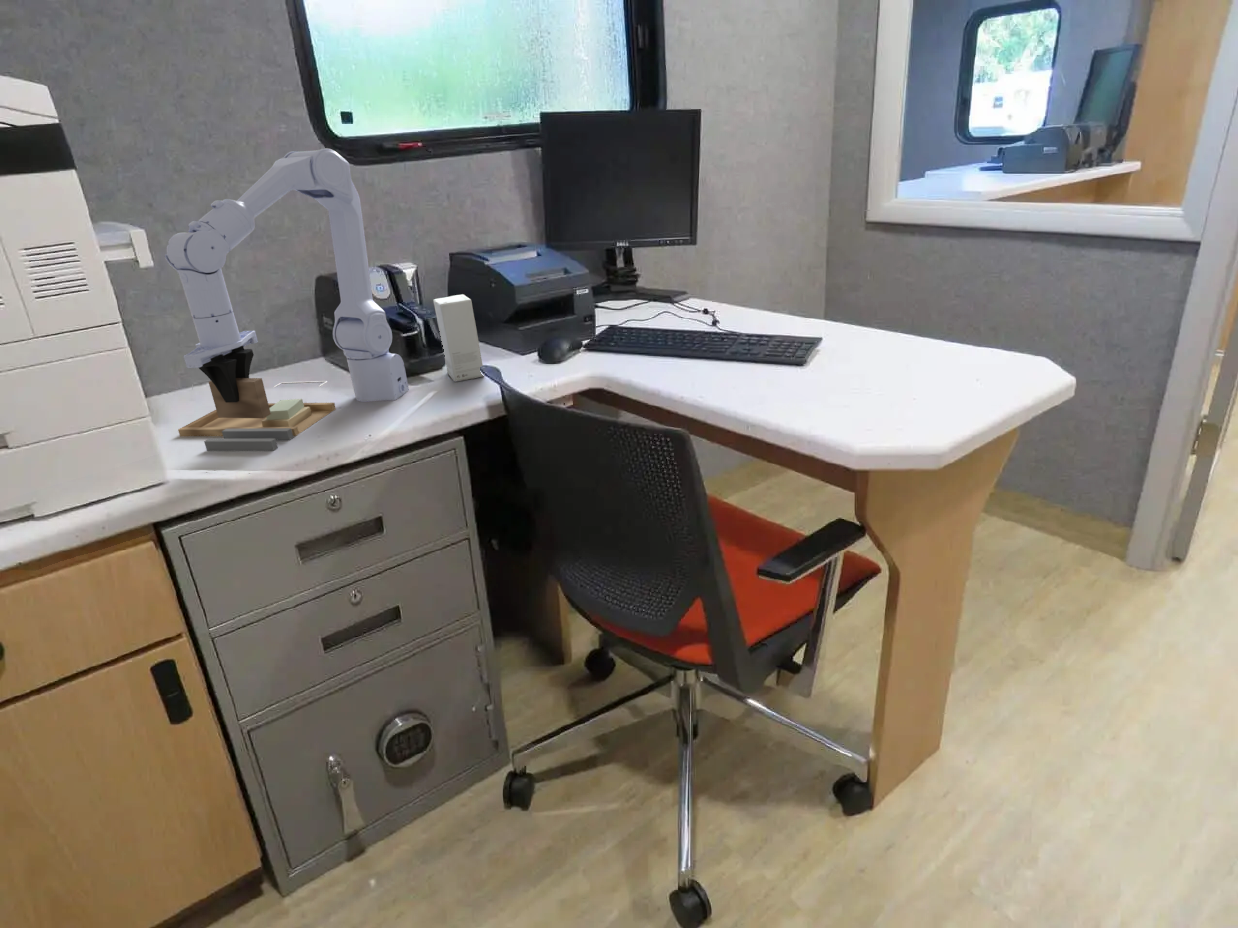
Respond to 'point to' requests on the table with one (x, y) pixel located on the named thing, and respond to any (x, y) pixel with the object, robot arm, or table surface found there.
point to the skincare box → (459, 337)
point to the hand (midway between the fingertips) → (237, 399)
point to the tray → (250, 422)
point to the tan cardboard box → (243, 400)
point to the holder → (249, 439)
